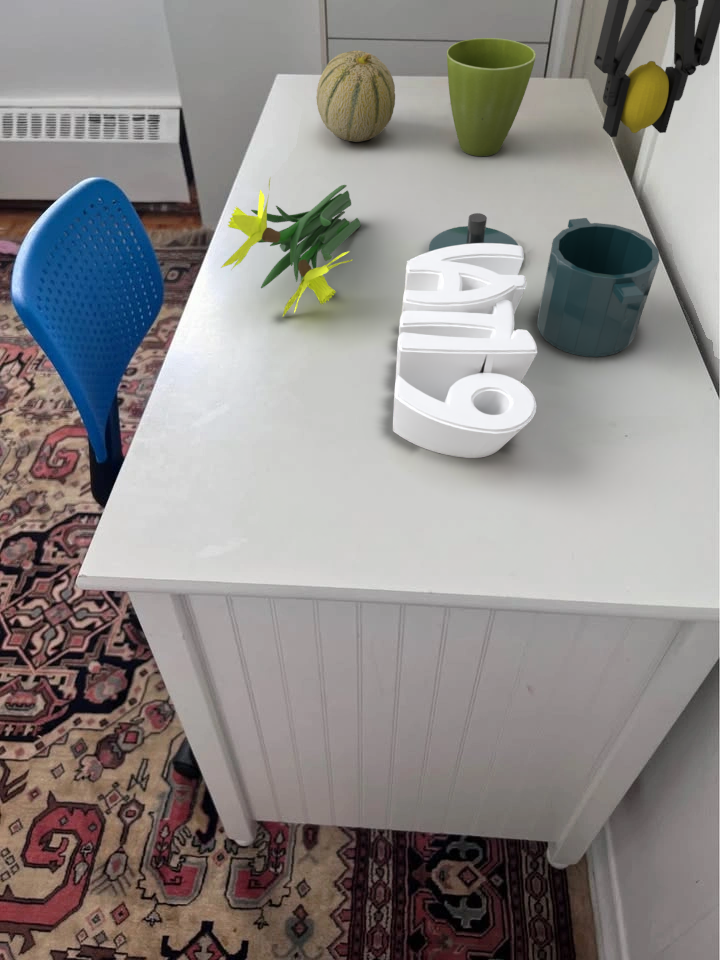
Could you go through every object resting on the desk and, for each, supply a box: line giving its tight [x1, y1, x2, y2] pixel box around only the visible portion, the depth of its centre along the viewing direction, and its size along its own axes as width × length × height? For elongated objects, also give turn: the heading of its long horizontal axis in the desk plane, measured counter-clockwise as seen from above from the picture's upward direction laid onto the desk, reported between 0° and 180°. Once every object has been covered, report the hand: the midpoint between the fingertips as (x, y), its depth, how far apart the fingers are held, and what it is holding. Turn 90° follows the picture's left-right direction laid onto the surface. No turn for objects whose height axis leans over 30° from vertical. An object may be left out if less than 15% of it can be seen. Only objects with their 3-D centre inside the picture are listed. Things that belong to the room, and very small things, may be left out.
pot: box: [536, 217, 660, 358], centre depth 92 cm, size 13×18×12 cm
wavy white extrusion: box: [392, 243, 538, 459], centre depth 86 cm, size 35×16×11 cm, turn 171°
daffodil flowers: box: [220, 176, 362, 317], centre depth 100 cm, size 17×15×35 cm
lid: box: [428, 212, 520, 252], centre depth 106 cm, size 14×14×6 cm
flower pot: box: [446, 37, 537, 157], centre depth 127 cm, size 15×15×16 cm
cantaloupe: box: [315, 50, 396, 143], centre depth 132 cm, size 15×15×15 cm
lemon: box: [620, 60, 669, 134], centre depth 86 cm, size 6×6×8 cm
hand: (634, 129), depth 88 cm, fingers closed on lemon, 5 cm apart
